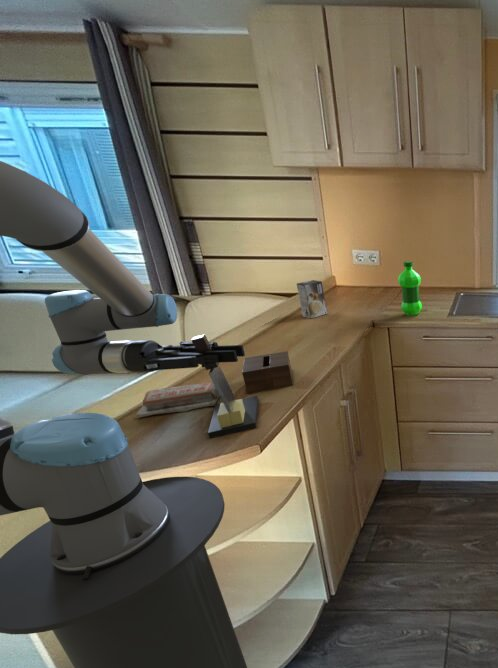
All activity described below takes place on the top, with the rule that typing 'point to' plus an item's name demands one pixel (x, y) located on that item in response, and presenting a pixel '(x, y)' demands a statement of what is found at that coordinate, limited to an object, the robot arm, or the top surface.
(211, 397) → the packaged product
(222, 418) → the butter left
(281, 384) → the knife block
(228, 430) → the cutting board
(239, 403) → the butter right
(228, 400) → the knife
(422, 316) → the top surface
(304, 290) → the coffee box
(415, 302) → the plastic bottle
